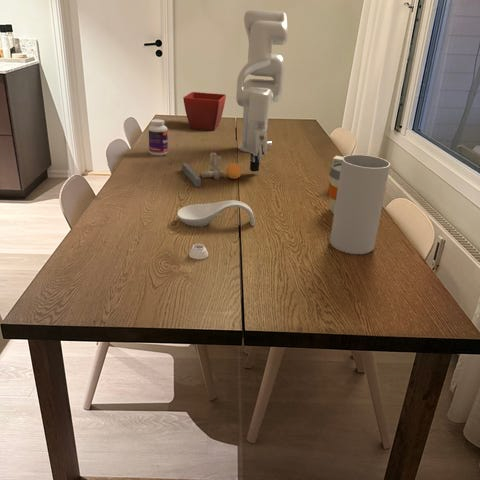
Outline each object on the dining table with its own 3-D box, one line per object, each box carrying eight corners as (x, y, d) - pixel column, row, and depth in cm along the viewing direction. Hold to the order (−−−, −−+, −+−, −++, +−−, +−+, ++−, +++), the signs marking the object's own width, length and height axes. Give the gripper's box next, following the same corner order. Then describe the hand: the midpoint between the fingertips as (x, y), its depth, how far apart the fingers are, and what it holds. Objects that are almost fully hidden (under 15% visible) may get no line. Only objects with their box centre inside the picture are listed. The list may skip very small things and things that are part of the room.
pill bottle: (166, 156, 210) (165, 123, 204) (147, 155, 210) (146, 122, 204) (169, 151, 218) (168, 119, 211) (151, 150, 218) (150, 118, 211)
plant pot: (182, 129, 257) (182, 97, 250) (191, 122, 274) (192, 91, 267) (218, 133, 255) (219, 100, 247) (225, 125, 272) (226, 94, 264)
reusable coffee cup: (317, 210, 164) (323, 166, 158) (337, 201, 172) (343, 160, 166) (349, 221, 156) (357, 176, 150) (369, 212, 165) (377, 169, 159)
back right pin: (214, 173, 193) (215, 152, 189) (216, 175, 191) (217, 154, 187) (208, 173, 192) (209, 152, 189) (210, 175, 190) (211, 154, 187)
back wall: (186, 170, 195) (186, 162, 194) (200, 186, 178) (200, 178, 177) (182, 170, 194) (182, 163, 193) (196, 187, 178) (196, 179, 176)
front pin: (221, 169, 190) (200, 170, 188) (223, 172, 189) (202, 173, 186) (221, 175, 192) (200, 176, 189) (223, 177, 190) (202, 179, 187)
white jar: (211, 256, 130) (198, 250, 133) (212, 246, 129) (198, 240, 132) (198, 262, 126) (185, 256, 129) (199, 252, 125) (185, 246, 128)
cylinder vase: (365, 260, 133) (382, 171, 122) (322, 247, 138) (335, 161, 128) (379, 244, 142) (396, 160, 132) (339, 232, 148) (351, 152, 137)
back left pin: (218, 177, 189) (219, 156, 185) (220, 179, 187) (221, 158, 183) (212, 178, 188) (213, 156, 184) (214, 180, 186) (215, 158, 182)
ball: (220, 168, 187) (228, 171, 192) (228, 181, 185) (236, 183, 191) (232, 158, 185) (239, 161, 190) (239, 171, 183) (247, 173, 188)
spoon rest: (176, 231, 143) (176, 208, 140) (177, 215, 154) (177, 194, 151) (256, 231, 146) (258, 209, 143) (251, 216, 157) (253, 195, 154)
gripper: (274, 128, 182) (270, 176, 190) (259, 120, 194) (255, 164, 202) (255, 129, 179) (252, 177, 187) (241, 120, 192) (238, 165, 200)
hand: (254, 170), depth 195 cm, fingers closed
